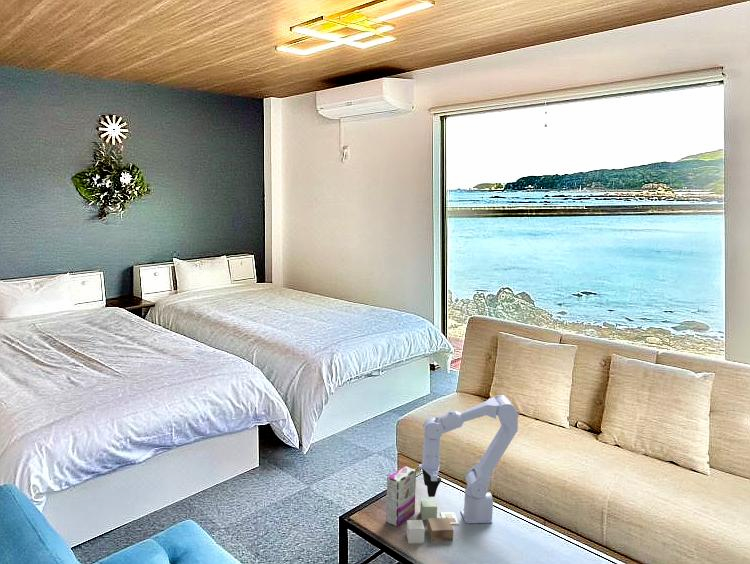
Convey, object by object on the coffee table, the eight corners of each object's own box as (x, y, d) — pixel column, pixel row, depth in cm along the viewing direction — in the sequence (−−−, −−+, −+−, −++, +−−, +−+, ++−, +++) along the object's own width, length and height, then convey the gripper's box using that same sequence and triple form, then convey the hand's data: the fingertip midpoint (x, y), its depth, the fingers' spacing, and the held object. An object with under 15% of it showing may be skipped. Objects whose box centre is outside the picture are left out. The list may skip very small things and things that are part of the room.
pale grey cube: (421, 534, 182) (422, 519, 181) (423, 543, 177) (424, 528, 176) (406, 534, 181) (407, 520, 181) (408, 543, 176) (409, 529, 176)
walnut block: (447, 528, 186) (448, 517, 185) (452, 541, 179) (453, 529, 178) (427, 529, 185) (427, 518, 184) (431, 542, 178) (432, 530, 177)
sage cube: (434, 512, 195) (434, 498, 194) (436, 520, 190) (437, 506, 189) (420, 512, 195) (420, 499, 194) (422, 520, 190) (422, 506, 189)
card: (454, 513, 195) (454, 511, 194) (458, 524, 188) (458, 523, 188) (440, 513, 194) (440, 512, 194) (444, 524, 187) (444, 523, 187)
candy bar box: (403, 508, 197) (405, 464, 194) (415, 513, 194) (417, 469, 191) (384, 522, 188) (386, 476, 186) (396, 527, 185) (398, 481, 183)
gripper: (416, 444, 196) (415, 480, 198) (423, 463, 182) (421, 501, 184) (436, 444, 197) (434, 480, 198) (444, 463, 182) (442, 501, 184)
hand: (429, 490), depth 191 cm, fingers open, 7 cm apart
